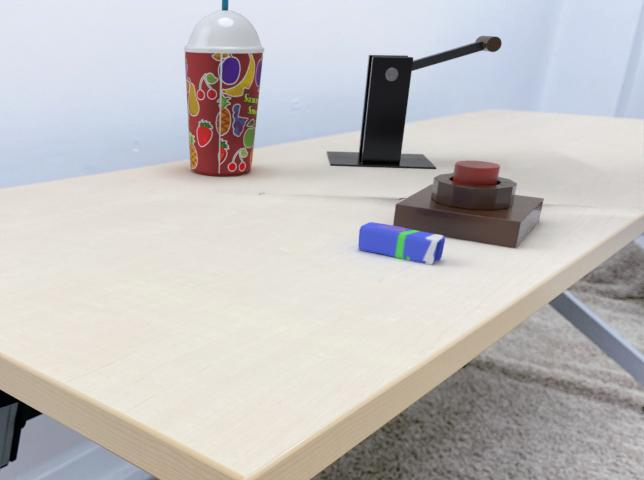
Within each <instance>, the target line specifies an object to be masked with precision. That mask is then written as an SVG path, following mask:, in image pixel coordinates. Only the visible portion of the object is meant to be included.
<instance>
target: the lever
mask: <svg viewBox="0 0 644 480" xmlns="http://www.w3.org/2000/svg"><path fill="white" fill-rule="evenodd" d="M502 44H503V43H502V39H501V38H500V37H499V36H492V35H480V36H479V37H477V38H476V39H475V41H474V42H471V43H467V44H465V45H460V46H457V47H454V48H451V49H448V50H444V51H441V52H438V53H434V54H431V55H426V56H424V57H421V58H420V57H419V58H417V59H413V65H412V72H414V71H418V70H420V69H424V68H427V67H430V66H434V65H438V64H442V63H444V62H449V61H451V60H455V59H459V58H462V57H465V56H469V55H472V54H477V53H479V52H489V53H496V52H498V51H499V50H500V49H501V47H502Z"/></svg>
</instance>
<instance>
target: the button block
mask: <svg viewBox="0 0 644 480" xmlns="http://www.w3.org/2000/svg"><path fill="white" fill-rule="evenodd" d="M453 174H454V172H450V173H440V174H438V175H436V176H434V177H433V181H432V184H431V183H430V184H429V185H428V186H426V187H424V188H422V189H420V190H419V191H417V192H415V193H413V194H411V195H409V196H408V197H406V198H404V199H402V200H400V201H399V202H397V203H395V207H394V216H393V223H392V225H393V226H398V227H403V228H407V229H412V230H417V231H422V232H427V233H432V234H438V235H443V236H445V238H448V239H453V240H461V241H467V242H473V243H478V244H486V245H491V246H497V247H504V248H510V249H517V248H518V247H519V245H520V244H521V243H523V241H524V240H525V238H527V236H529V234H530V233H531V232H532V231H533V229H534V228H535V227H536V226H537V225H538V224H539V223H540V219H541V214H542V209H543V205H544V198H543V197H536V196H527V195H519V194H516V191H517V186H518V183H517V182H515V181H514V180H512V179H510V178H506V177H502V176H498V182H497V185H491V186H483V185H468V184H461V183H457V182H453Z"/></svg>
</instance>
